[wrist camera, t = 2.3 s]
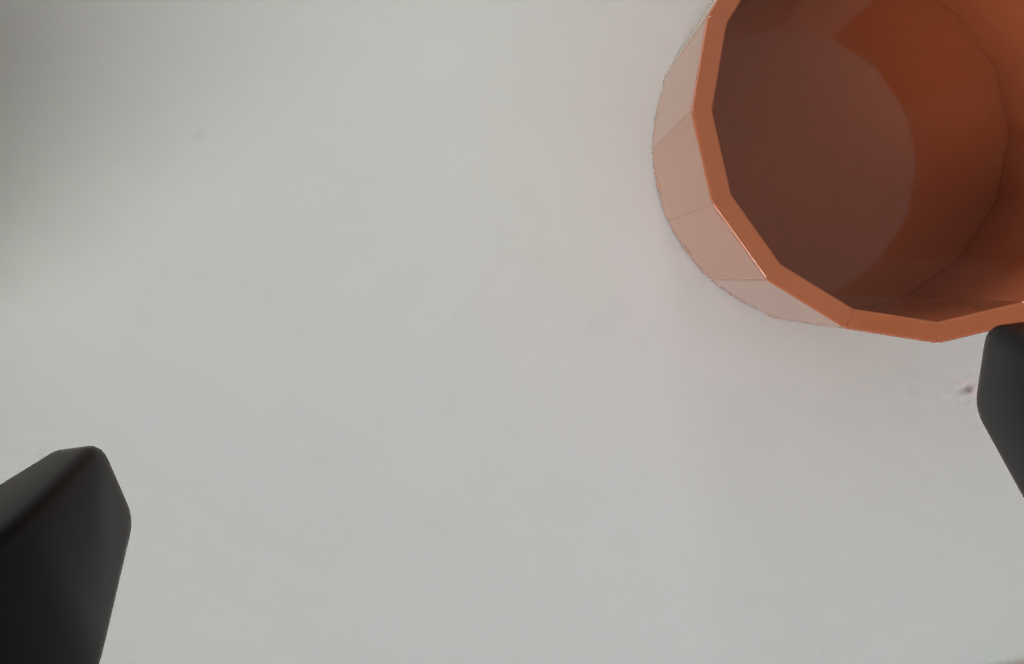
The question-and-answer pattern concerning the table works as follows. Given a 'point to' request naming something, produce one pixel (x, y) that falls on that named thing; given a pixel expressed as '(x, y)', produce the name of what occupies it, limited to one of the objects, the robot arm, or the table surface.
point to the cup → (852, 161)
